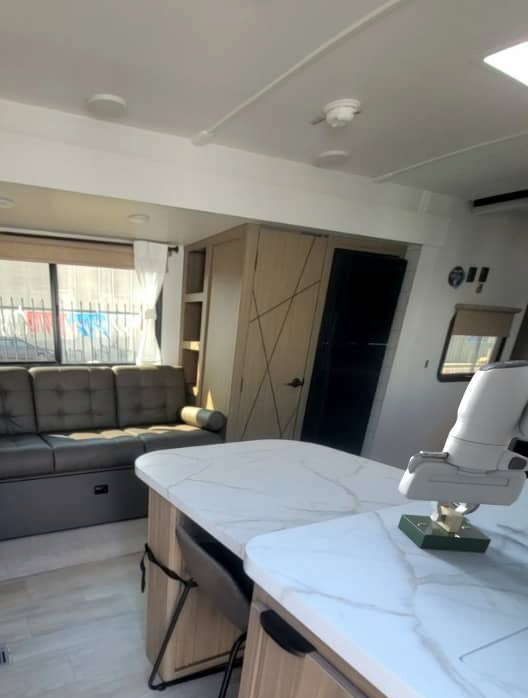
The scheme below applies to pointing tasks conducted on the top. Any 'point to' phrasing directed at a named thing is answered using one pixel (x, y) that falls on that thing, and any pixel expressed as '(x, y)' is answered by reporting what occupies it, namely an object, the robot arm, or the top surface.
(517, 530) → the top surface
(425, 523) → the dark green flat block
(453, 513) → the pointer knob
